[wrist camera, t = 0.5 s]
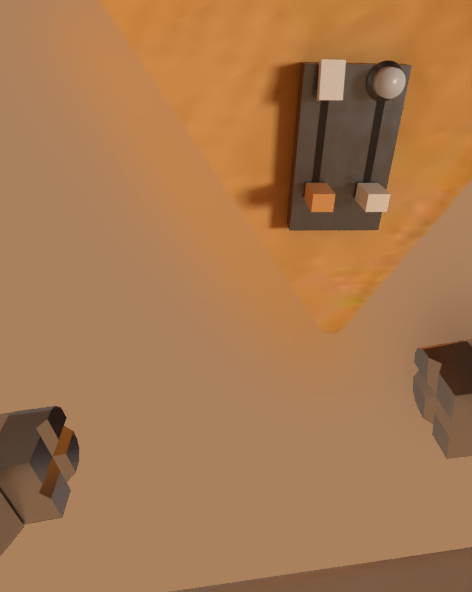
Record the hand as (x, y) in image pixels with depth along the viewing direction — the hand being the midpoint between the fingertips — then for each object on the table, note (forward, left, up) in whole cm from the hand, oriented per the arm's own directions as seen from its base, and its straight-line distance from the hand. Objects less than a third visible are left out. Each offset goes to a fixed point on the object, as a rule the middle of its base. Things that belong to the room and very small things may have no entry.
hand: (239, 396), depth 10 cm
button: (-3, +18, -42) cm, 45 cm away
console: (+5, +15, -44) cm, 47 cm away
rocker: (-3, +12, -41) cm, 43 cm away
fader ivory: (+9, +18, -42) cm, 46 cm away
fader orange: (+9, +12, -42) cm, 44 cm away
